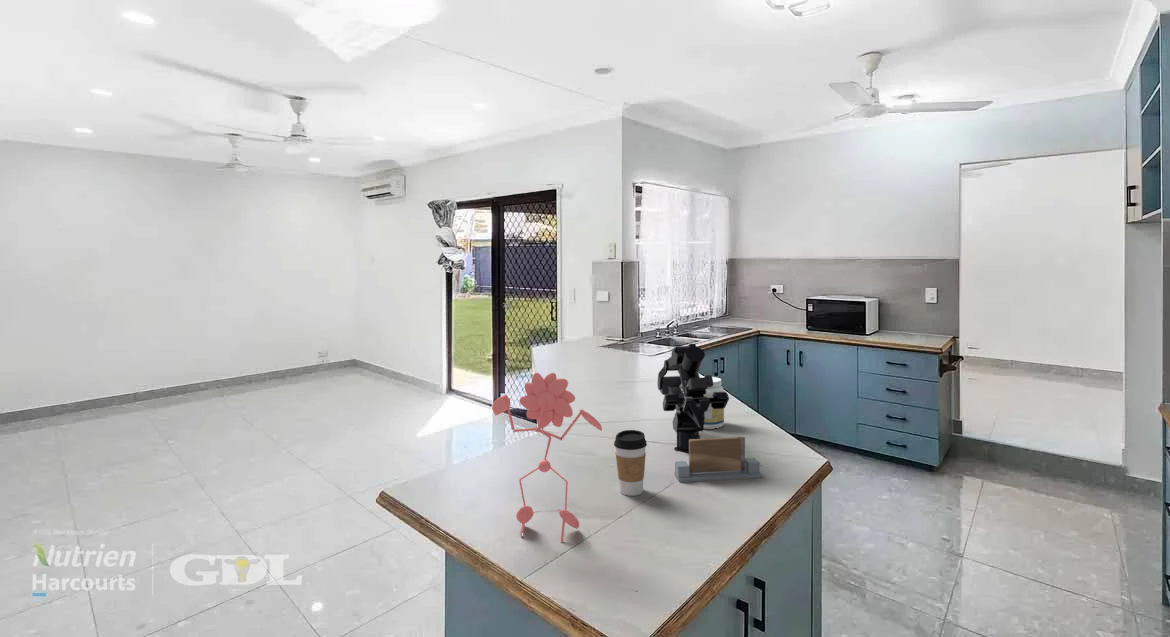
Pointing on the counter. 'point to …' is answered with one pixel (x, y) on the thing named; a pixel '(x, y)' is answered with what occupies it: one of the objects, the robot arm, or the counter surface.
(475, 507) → the counter surface
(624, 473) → the coffee cup
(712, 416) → the supplement tub
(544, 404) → the figurine
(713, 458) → the gate leaf
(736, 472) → the gate frame
